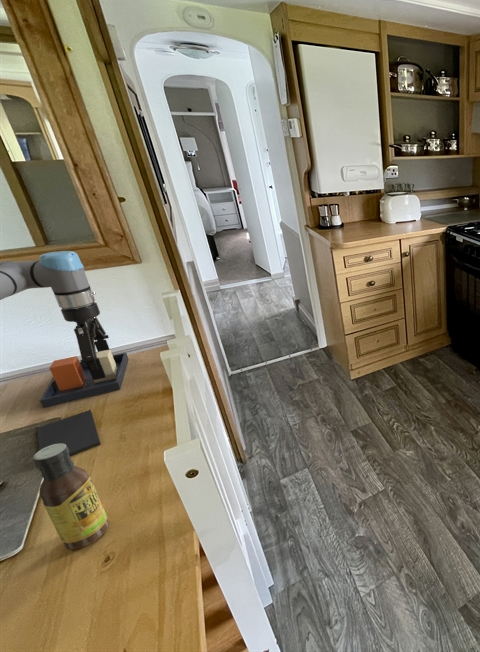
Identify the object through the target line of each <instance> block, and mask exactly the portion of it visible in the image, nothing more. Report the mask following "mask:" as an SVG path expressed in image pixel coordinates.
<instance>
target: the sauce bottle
mask: <svg viewBox="0 0 480 652" xmlns="http://www.w3.org/2000/svg"><path fill="white" fill-rule="evenodd" d="M32 460H33V462H34V464H35V466H37V467H38V469H39V471H40V473H41V477H42V478H43V479H42V482H41V483H40V486H39V491H38V493H39V497H40V498H41V500H42V504H43V506H44V508H45V510H46V512H47V514H48V516H49V518H50V520H51V523H52V525H53V527H54V529H55V531H56V533H57V535H58V537H59V539H60V541H61V542H62V543H63V544H64V546H65V548H66V549H69V550H78V549H80V548H84V547H87V546H88V545H90V544H92V543H94V542H96V541H97V540H98V539H99V538H101V536H103V535H104V534H105V533H106V532H107V530H108V527H109V520H108V515H107V513H106V511H105V508H104V506H103V504H102V502H101V500H100V497H99V495H98V492H97V490H96V487H95V484H94V482H93V480H92V478H91V476H90V475H89V473H88V471H87V470H86V469H84V468H82V467H80V466H76V465H75V463H74V462H73V460H72V458H71V456H70V455H69V449H68V447H67V445H66V444H62V443H61V444H54V445H50V446H48V447H45V448H43V449H41V450H40V451H39V450H38V451H36V453H34V455H33V457H32Z"/></svg>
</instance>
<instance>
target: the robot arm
mask: <svg viewBox="0 0 480 652" xmlns="http://www.w3.org/2000/svg"><path fill="white" fill-rule="evenodd" d="M38 259H39V260H22V261H14V260H12V261H11V260H6V261H0V301H1V300H3V299H6V298H8V297H12V296H15V295H17V294H19V293H21V292H24V291H26V290H29V289H45V288H51V290H52V292H53V296H54V298H55V300H56V302H57V305H58V307H59V308H60V312H61V314H62V316H63V319H64V320H65V321H66V322H69V323H76V325H75V327H74V329H73V332H74V334H75V336H76V341H77V345H78V350H79V353H80V357H81V359H80V362H83V363H84V362H86V364H87V366H88V369H89V371H90V373H91V376H92V378H93V380H97V379H101V378H106V375H105V373H104V370H103V368H102V365H101V362H100V360H99V357H98V358H97V355H96V352H100V351H105V350H111V349H110V347H109V343H108V340H107V339H109V337H110V336H109V335H108V334H107V333H106V331H105V329H104V327H103V326H102V324H101V323H100V321H99V319H98V316H99V315H100V314H101V310H100V308H99V305H98V303H97V302H96V298H95V295H96V292H95V291H92V288H91V285H90V283H89V280H88V277H87V274H86V271H85V267H84V264H83V263H82V262H81V259H80V257H79V255H78V253H77V252H75V251H71V250H60V251H59V250H58V251H51V252H46V253H43V254H41V255H39V258H38ZM89 356H91V357H89Z"/></svg>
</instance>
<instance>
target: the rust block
mask: <svg viewBox="0 0 480 652" xmlns="http://www.w3.org/2000/svg"><path fill="white" fill-rule="evenodd" d="M80 362H81V361H80V360H79V357H78V355H77V356H76V355H75V356H69V357H65V358H59V359H55V360H53V362H52V363H51V365H49V366H50V367H49V371H50V373H51V375H52V378H53V377H54V379H55V382H56V384H57V386H58V388H59V390H60V391H64V390H68V389H72V388H77V387H81V386H83V385H84V382H85V380H86V376H85V374H84V372H83V369H82V367H81V365H80Z"/></svg>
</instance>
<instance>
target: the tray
mask: <svg viewBox="0 0 480 652" xmlns="http://www.w3.org/2000/svg"><path fill="white" fill-rule="evenodd" d="M112 356H113V358H114V361H115V364H116V366H117V369H118V374H117V377H116V378H115V379H111V380H107V381H102V382H98V383H94V380H93V378H92V376H91V373H90V371H89V369H88V366H87V364H86V362H84V363H83V362H81V361H79V362H80V365H81V367H82V369H83V372H84V374H85V376H86V380H85V382H84V385H83V386H81V387H77V388H72V389H68V390H64V391H60V390H59V388H58V386H57V384H56V382H55V379H54V377H53V376H52V378H51V380H50V382H49V384H48V385H47V387H46V389H45V391H44V392H43V394H42V396H41V398H40V399H39V402H40V404H41V406H42V408H43V409H47V408H50V407H51V408H52V407H54V406H58V405H62V404H67V403H71V402H75V401H80V400H83V399H86V398H87V399H88V398H91V397H95V396H99V395H104V394H107V393H113V392H116V391H119V390H121V389H122V386H123V381H124V378H125V375H126V370H127V367H128V363H129V355H128V353H127V352H123V353H116V354H112Z"/></svg>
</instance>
